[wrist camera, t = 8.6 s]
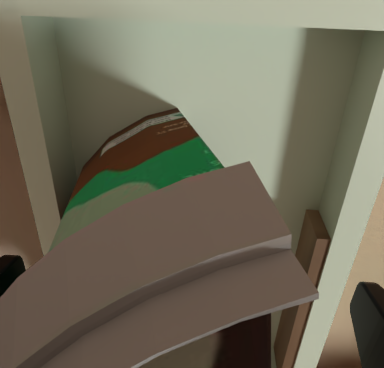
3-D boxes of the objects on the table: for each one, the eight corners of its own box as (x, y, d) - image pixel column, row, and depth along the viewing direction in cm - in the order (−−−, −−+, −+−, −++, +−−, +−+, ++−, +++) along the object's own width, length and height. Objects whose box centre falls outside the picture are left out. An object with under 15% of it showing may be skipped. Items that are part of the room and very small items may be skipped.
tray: (402, -13, 11) (450, -12, 8) (296, 350, 20) (305, 397, 18) (23, -26, 11) (-26, -29, 9) (88, 332, 20) (72, 376, 18)
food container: (-18, 93, 11) (-483, 433, 2) (171, 64, 12) (324, 251, 3) (83, 341, 17) (51, 690, 9) (204, 312, 18) (288, 608, 9)
